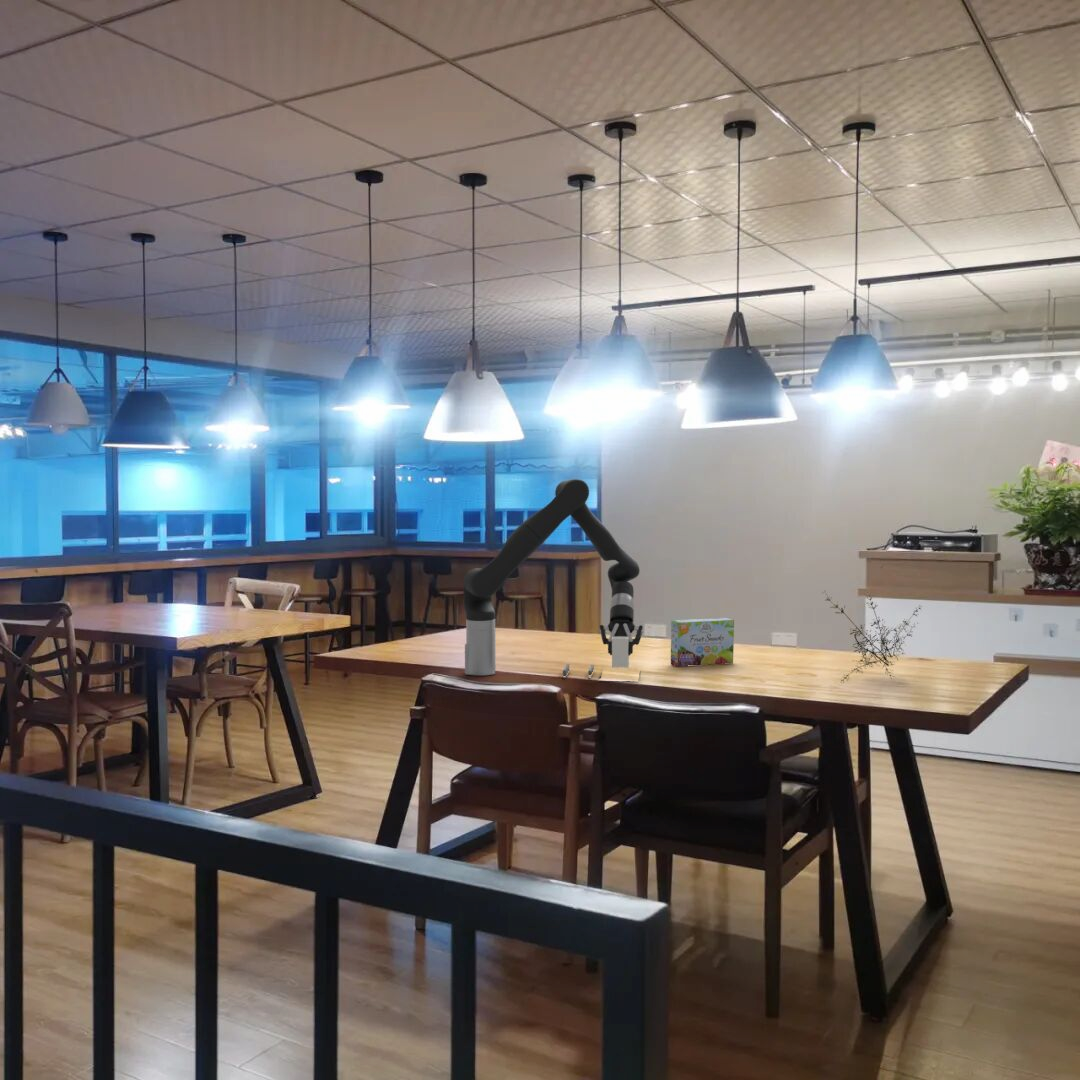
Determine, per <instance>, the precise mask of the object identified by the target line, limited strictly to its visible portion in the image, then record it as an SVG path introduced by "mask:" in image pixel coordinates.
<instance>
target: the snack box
mask: <svg viewBox="0 0 1080 1080" xmlns="http://www.w3.org/2000/svg"><path fill="white" fill-rule="evenodd" d="M670 626H671V627H670V629H671V631H670V665H671V666H674V665H675V666H674V667H676V666H684V667H689V666H688V665H702V666H709V665H708V664H717V665H726V664H725V663H732V664H734V645H735V644H734V641H735V640H734V639H735V637H734V636H735V619H733V618H732V619H731V618H728V617H719V618H718V617H717V618H715V617H714V618H697V619H696V618H692V619H676V620H674V619H673V620H671V623H670Z"/></svg>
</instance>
